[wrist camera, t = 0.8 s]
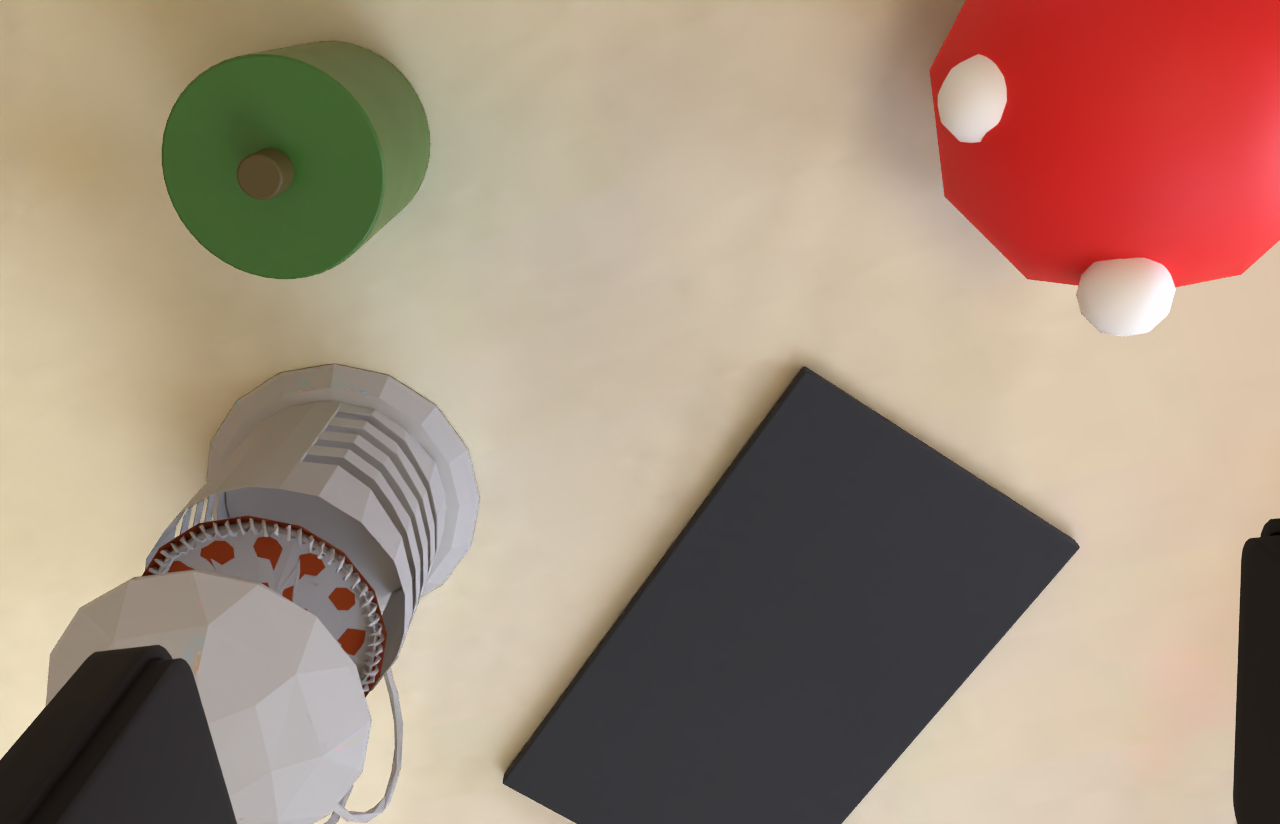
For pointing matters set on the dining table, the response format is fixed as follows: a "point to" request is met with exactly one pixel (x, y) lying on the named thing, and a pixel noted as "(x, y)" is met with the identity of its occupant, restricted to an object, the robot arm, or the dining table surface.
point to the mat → (793, 629)
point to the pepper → (294, 156)
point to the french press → (298, 581)
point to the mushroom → (1115, 142)
